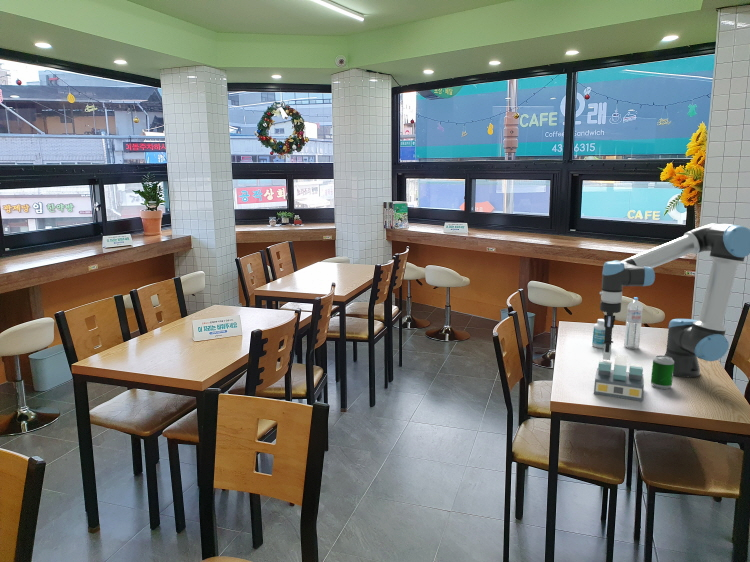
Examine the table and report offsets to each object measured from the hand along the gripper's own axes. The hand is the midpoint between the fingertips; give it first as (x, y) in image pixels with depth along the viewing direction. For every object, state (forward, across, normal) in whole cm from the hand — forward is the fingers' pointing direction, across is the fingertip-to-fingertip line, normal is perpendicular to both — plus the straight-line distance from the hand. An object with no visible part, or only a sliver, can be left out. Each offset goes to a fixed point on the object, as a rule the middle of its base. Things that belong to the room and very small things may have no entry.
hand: (606, 359), depth 227 cm
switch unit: (+11, +5, +5) cm, 13 cm away
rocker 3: (+3, +5, +11) cm, 12 cm away
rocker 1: (+2, +5, 0) cm, 6 cm away
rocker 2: (+2, +4, +5) cm, 7 cm away
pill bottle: (+11, -55, -4) cm, 57 cm away
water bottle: (+12, -60, +10) cm, 62 cm away
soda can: (+11, -8, +21) cm, 25 cm away
